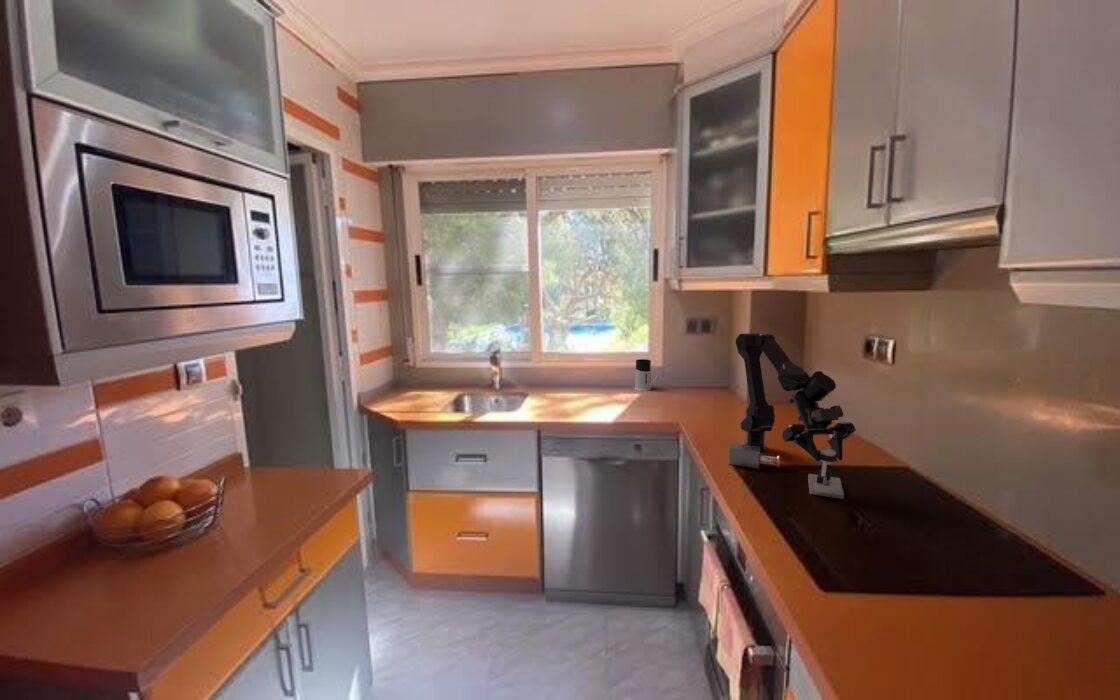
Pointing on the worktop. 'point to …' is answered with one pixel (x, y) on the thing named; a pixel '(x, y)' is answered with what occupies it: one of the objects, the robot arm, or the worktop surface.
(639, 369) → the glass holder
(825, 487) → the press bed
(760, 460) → the press pin
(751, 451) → the block
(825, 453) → the push button
